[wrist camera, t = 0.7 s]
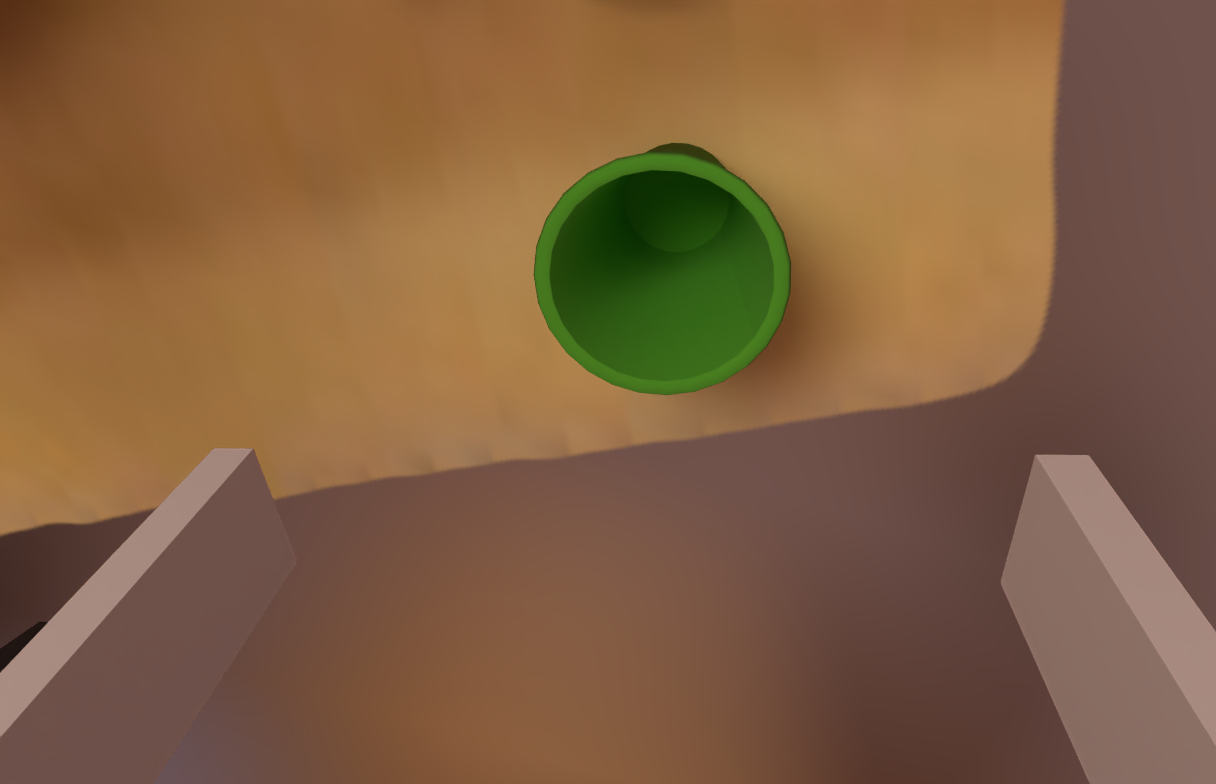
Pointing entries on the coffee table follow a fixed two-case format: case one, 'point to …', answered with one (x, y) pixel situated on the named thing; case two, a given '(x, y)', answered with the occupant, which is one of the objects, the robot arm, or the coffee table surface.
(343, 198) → the coffee table surface
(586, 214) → the cup
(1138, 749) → the robot arm
